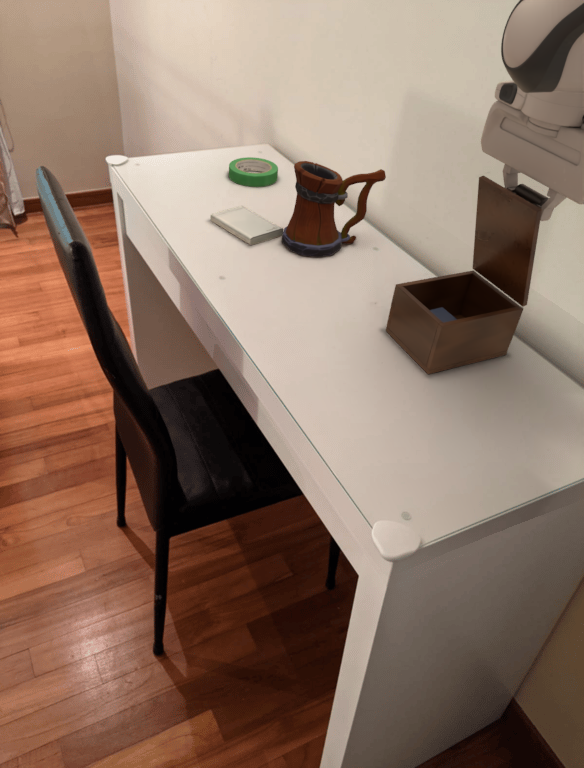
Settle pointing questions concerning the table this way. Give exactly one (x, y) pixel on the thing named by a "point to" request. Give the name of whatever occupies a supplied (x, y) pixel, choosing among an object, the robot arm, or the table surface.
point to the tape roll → (253, 179)
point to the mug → (323, 209)
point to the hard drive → (246, 225)
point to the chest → (458, 337)
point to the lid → (507, 236)
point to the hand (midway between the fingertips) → (524, 208)
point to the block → (443, 314)
